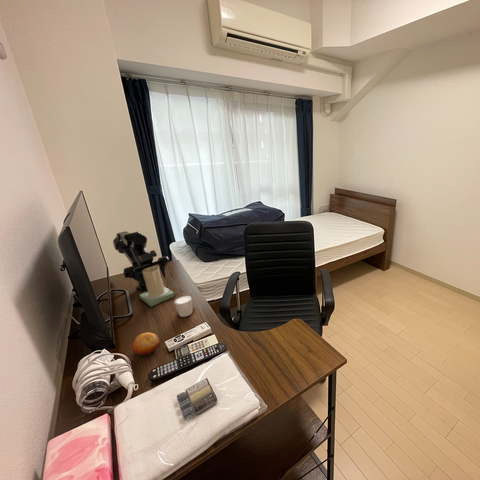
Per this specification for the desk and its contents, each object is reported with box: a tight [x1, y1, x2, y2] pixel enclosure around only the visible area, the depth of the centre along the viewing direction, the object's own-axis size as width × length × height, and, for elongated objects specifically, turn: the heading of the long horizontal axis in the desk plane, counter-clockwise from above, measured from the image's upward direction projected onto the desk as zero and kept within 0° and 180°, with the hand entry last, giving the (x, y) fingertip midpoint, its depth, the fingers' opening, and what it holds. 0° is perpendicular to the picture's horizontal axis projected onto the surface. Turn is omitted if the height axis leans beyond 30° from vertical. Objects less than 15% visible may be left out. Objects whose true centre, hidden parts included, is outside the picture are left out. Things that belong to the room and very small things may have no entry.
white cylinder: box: [174, 295, 194, 318], centre depth 114 cm, size 7×7×7 cm
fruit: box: [131, 331, 160, 356], centre depth 93 cm, size 8×8×8 cm
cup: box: [142, 266, 165, 297], centre depth 123 cm, size 7×7×13 cm
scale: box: [139, 285, 175, 308], centre depth 126 cm, size 12×11×3 cm
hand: (154, 281), depth 122 cm, fingers open, 9 cm apart
